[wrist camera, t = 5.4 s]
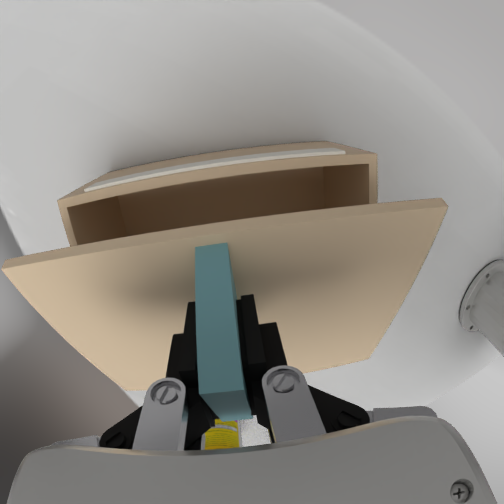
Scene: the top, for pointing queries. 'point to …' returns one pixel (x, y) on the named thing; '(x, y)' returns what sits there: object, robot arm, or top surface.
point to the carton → (219, 189)
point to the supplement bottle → (223, 435)
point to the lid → (234, 291)
